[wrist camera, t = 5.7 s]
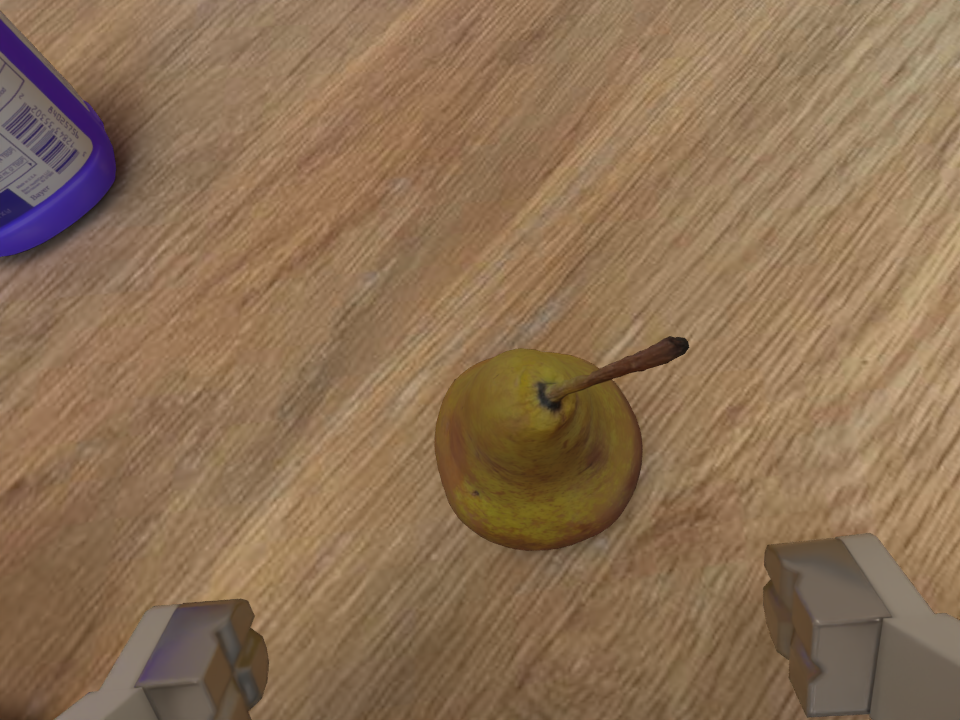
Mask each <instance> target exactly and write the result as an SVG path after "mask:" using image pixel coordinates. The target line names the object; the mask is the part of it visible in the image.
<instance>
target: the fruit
mask: <svg viewBox="0 0 960 720" xmlns="http://www.w3.org/2000/svg"><path fill="white" fill-rule="evenodd" d="M688 348H689V344H688V341H687V340H686V339H685V338H681V337H676V338H675V337H671V336H669V337H667V338H665V339H663V340H661V341H660V342H658V343H657V344H655V345H652V346H650V347H649V348H647V349H645V350H642V351H639V352H638V353H636V354H634V355H632V356H627V357H625V358H623V359H621V360H619V361H616V362H614V363H611V364H609V365H607V366H605V367H603V368H601V369H599V368H598V367H597V366H595V365H594V364H592V363H590V362H588V361H586V360H583V359H580V358H578V357H575V356H572V355H567V354H559V353H552V352H541V351H538V350H533V349H523V348H519V349H514V350H510V351H506V352H504V353H502V354H499V355H497V356H496V357H493V358H490V359H487V360H484V361H482V362H479V363H477V364H475V365H474V366H472V367H470V368H469V369H467V370H466V371H465V372H464V373H462V374H461V375H460V376H459V377H458V378H457V379H455V380H454V382H453V384H452V385H451V386H450V388H449V389H448V391H447V393H446V395H445V397H444V399H443V402H442V405H441V408H440V411H439V415H438V419H437V423H436V431H435V454H436V460H437V465H438V469H439V473H440V477H441V481H442V484H443V487H444V490H445V493H446V496H447V499H448V501H449V504H450V506H451V507H452V509H453V511H454V512H455V514H456V515H457V517H458V518H459V519H460V520H461V521H462V522H463V523H464V524H465V525H466V526H468V527H469V528H470V529H471V530H472V531H474V532H475V533H477V534H478V535H480V536H481V537H483V538H485V539H487V540H488V541H491V542H493V543H496V544H499V545H502V546H505V547H508V548H513V549H519V550H526V551H532V550H550V549H558V548H562V547H566V546H570V545H573V544H576V543H578V542H581V541H583V540H586V539H588V538H590V537H593V536H595V535H597V534H599V533H601V532H602V531H604V530H605V529H607V528H608V527H609V526H611V525H612V524H613V523H614V522H615V521H616V520H617V519H618V517H619V516H620V515H621V514H622V512H623V511H624V509H625V507H626V506H627V504H628V502H629V500H630V499H631V497H632V495H633V493H634V491H635V488H636V485H637V481H638V478H639V475H640V470H641V465H642V438H641V432H640V428H639V425H638V422H637V419H636V416H635V414H634V412H633V410H632V408H631V406H630V404H629V403H628V401H627V399H626V398H625V396H624V394H623V393H622V391H621V390H620V388H619V387H618V386H617V385H616V383H615V382H614V381H613V380H612V379H613V378H617V377H621V376H623V375H626V374H629V373H632V372H637V371H645V370H646V369H649V368H652V367H656V366H659V365H663V364H666V363H668V362H670V361H671V360H673V359H675V358H677V357H679V356H681V355H683V354H685V353H686V351H687V350H688Z"/></svg>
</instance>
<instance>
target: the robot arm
mask: <svg viewBox="0 0 960 720" xmlns="http://www.w3.org/2000/svg"><path fill="white" fill-rule="evenodd" d="M764 566H765V568H766V570H767V572H768V575H769V577H770V579H771V580H770V581H769V582H768V583H767V584H766V585H765V586H764V588H763V606H764V612H765V618H766V624H767V627H768V630H769V633H770V636H771V639H772V641H773V644H774V646H775V648H776V651H777V652H778V653H779V654H781V655H782V656H784V657H785V658H786V659H788V660H789V677H788V678H789V680H790V682H791V684H792V686H793V688H794V691H795V693H796V695H797V697H798V699H799V702H800V704H801V706H802V708H803V710H804V713H805V715H806V717H807V718H808V717H826V716H844V715H863V714H870V718H871V719H872V720H960V620H958V619H956V618H954V617H952V616H950V615H949V614H947V613H940V614H935V613H934V612H933V611H932V609H931V608H930V607H929V605H928V604H927V603H926V601H925V600H924V599H923V597H922V596H921V595H920V593H919V592H918V591H917V589H916V588H915V587H914V585H913V584H912V583H911V581H910V580H909V579H908V577H907V576H906V575H905V573H904V572H903V571H902V569H901V568H900V567H899V565H898V564H897V563H896V561H895V560H894V559H893V557H892V556H891V555H890V553H889V552H888V551H887V549H886V548H885V547H884V545H883V544H882V543H881V541H880V540H879V539H878V537H876V536H875V535H873V534H871V533H866V534H857V535H849V536H840V537H836V538H826V539H817V540H808V541H799V542H790V543H781V544H771V545H767V547H766V550H765V557H764ZM254 617H255V616H254V613H253V611H252V609H251V607H250V604H249V602H248V601H247V600H243V599H231V600H218V601H205V602H192V603H183V604H176V605H161V606H153V607H152V608H150V609H149V610H147V611H146V612H145V613H144V615H143V617H142V618H141V620H140V622H139V623H138V625H137V627H136V628H135V630H134V632H133V634H132V635H131V637H130V639H129V640H128V642H127V644H126V645H125V647H124V649H123V650H122V652H121V654H120V656H119V657H118V659H117V661H116V662H115V664H114V666H113V667H112V669H111V671H110V672H109V674H108V676H107V678H106V679H105V681H104V683H103V684H102V686H101V688H100V689H99V691H97V692H89V693H88V694H86V695H85V696H84V697H82V698H81V699H80V700H79V701H77V702H76V703H75V704H73V705H72V706H71V707H70V708H68V709H67V710H66V711H64V712H63V713H62V714H60V715H59V716H58V717H57V718H55V719H54V720H251V717H250V715H249V712H248V711H250V710H251V709H252V708H253V707H254V706H255V705H256V704H257V703H258V702H259V701H260V700H261V699H262V697H263V694H264V690H265V687H266V684H267V679H268V667H269V659H268V653H267V647H266V644H265V642H264V639H263V636H261V635H260V634H258V633H257V632H256V631H254V630H253V629H251V628H250V627H251V624H252V622H253V619H254Z"/></svg>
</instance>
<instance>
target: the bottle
mask: <svg viewBox="0 0 960 720" xmlns="http://www.w3.org/2000/svg"><path fill="white" fill-rule="evenodd" d="M115 172H116V163H115V157H114V151H113V146H112V144H111V142H110V140H109V137H108V136H107V134H106V132H105V129H104V124H103V122H102V121H101V119H100V118H99V116H98V115H97V113H96V112H95V111H94V109H93V108H92V107H91V105H90V104H88V103H87V102H86V101H84V100H83V99H82V98H81V97H80V96H79V95H78V93H77V92H76V91H75V90H74V88H73V87H72V86H71V85H70V83H69V82H68V81H67V80H66V79H65V78H64V77H63V76H62V75H61V74H60V73H59V72H58V71H57V70H56V69H55V68H54V67H53V66H52V65H51V63H50V62H49V61H48V60H47V59H46V58H45V57H44V56H43V55H42V54H41V53H40V52H39V51H38V50H37V49H36V48H35V47H34V45H33V44H32V43H31V42H30V41H29V40H28V39H27V38H26V37H25V36H24V35H23V34H22V33H21V32H20V31H19V30H18V29H17V28H16V27H15V26H14V24H13V23H12V22H11V21H10V20H9V19H8V18H7V17H6V16H5V15H4V14H3V13H2V12H1V11H0V257H3V256H10V255H14V254H18V253H21V252H24V251H27V250H29V249H31V248H33V247H36V246H38V245H40V244H42V243H44V242H46V241H47V240H49V239H51V238H53V237H54V236H56V235H57V234H59V233H60V232H62V231H63V230H65V229H66V228H68V227H69V226H70V225H72V224H73V223H75V222H76V221H77V220H79V219H80V218H81V217H82V216H83V215H85V214H86V213H87V212H88V211H89V210H91V209H92V208H93V207H94V206H95V205H96V204H97V203H98V202H99V201H100V200H101V199H102V197H103V196H104V195H105V194H106V193H107V191H108V190H109V189H110V187H111V186H112V184H113V183H114V181H115Z"/></svg>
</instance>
